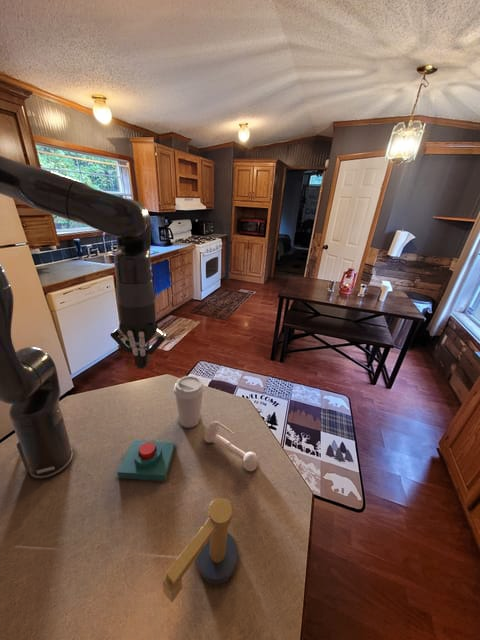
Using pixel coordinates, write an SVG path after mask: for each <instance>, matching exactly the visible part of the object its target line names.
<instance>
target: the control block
mask: <svg viewBox="0 0 480 640" xmlns="http://www.w3.org/2000/svg"><path fill="white" fill-rule="evenodd" d="M146 442H152V443H154V444H155V450H156V452H155V454H154V456H153V457H151V458H149V459H142V458H141V457H140V452H139V449H140V446H141V445H142V444H144V443H146ZM175 449H176V442H174V441H160V440H159V441H158V440H145V439H144V440H142V439H133V440H132V442H131V444H130V446H129V448H128V450H127V452H126V454H125V456H124V458H123V460H122V462H121V464H120V466H119V469H118V470H117V477H118V479H130V480H141V481H142V480H145V481H159V482H166V480H167V476H168V474H169V470H170V466H171V463H172V459H173V456H174V453H175Z"/></svg>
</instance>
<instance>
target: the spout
mask: <svg viewBox="0 0 480 640" xmlns="http://www.w3.org/2000/svg"><path fill="white" fill-rule="evenodd" d="M232 516H233V506H232V504H231V503H230V501H229V500H228V499H226V498H224V497H218V498H216V499H214V500H212V502H211V503H210V504H209V507H208V519H207V520H206V521H205V522H204V524H203V525H202V527H201V528H200V529H199V530H198V531H197V533H196V534H195V535H194V537H193V538H191V540H190V542H189V543H188V544H187V546H185V548H184V549H183V550H182V552H181V553H180V554H179V556H177V558H176V560H175V561H174V562H173V563H172V565H171V566H170V567H169V568H168V570H167V571H166V572H165V577H164V578H163V579H162V583H161V584H162V592H163V593H164V595H165V596H166V597H167V598H168V600H169V601H170V603H171V604H172V603H173V602H174V601H175V599H176V598H177V597H178V595H180V592H181V591H182V589H183V577H184V576H185V574H186V573H187V571H188V570H189V569H190V567H191V566H192V565H193V563H194V562H195V560H196V559H197V556H198V555H199V554H200V552H201V551H202V549H203V548H204V547H205V545H206V544H207V543H208V541H209V540H210V539H211V537H212V536H213V534H214V533H215V532H216V531H224V530H226V529H227V528H228V529H229V527H230V525H231V524H232V518H233V517H232Z"/></svg>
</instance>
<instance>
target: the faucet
mask: <svg viewBox="0 0 480 640" xmlns="http://www.w3.org/2000/svg"><path fill="white" fill-rule="evenodd" d="M220 427H221V428H222V429H224V430H226V431H227V432H228V433H230V434H232V435H233V436H235V435H236V433H235V432H233V431H232V430H231V429H230V428H228V427H227V426H225V425H224V424H223V423H222V422H220V421H217V420H214V421H212V422H210V424H209V426H208V428H207V429H206V431H205V433H204V435H203V440H204V441H205V442H206V443H213V444H215V445H217V446H219V447H220V448H221V449H223V450H224V451H225V452H229V453H231V454H233V455H235V456H237V457H238V458H240V459H242V461H243V468H244V469H245V470H246V471H247V472H253V471H255V470H256V469H257V465H258V461H259V459H258V456H257V454H256V453H255V452H254V451H247V452H245V451H243V450H242V449H240V448H239V447H237V446H236V445H234V444H232V442H231V441H230V440H228V439H226V438H224V437H223V436H221V435H219V434H218V432H219V430H220V429H221V428H220Z"/></svg>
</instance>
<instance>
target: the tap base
mask: <svg viewBox="0 0 480 640" xmlns="http://www.w3.org/2000/svg"><path fill="white" fill-rule="evenodd" d="M228 531H229V527H228V528H227V529H226V530H224V531H216V532H215V533H214V534H213V536H212V537H211V539H210V540H209V541H208V543H207V544H206V545H205V547H204V548H203V549H202V551H201V552H200V554H199V555H198V556H197V558H196V559H197V560H196V561H197V564H196V565H197V569H198V572H199V574H200V576H201V578H202V579H203V580H204V581H205V582H207V583H208V584H210V585H214V586H215V585H216V586H217V585H222V584H224V583H226V582H228V580H229V579H231V577H232V576H233V574H234V573H235V570H236V567H237V563H238V547H237V546H238V545H237V543H236V541H235V539H234V537H233V536H232V535H231V534H230V533H229V532H228Z"/></svg>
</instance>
